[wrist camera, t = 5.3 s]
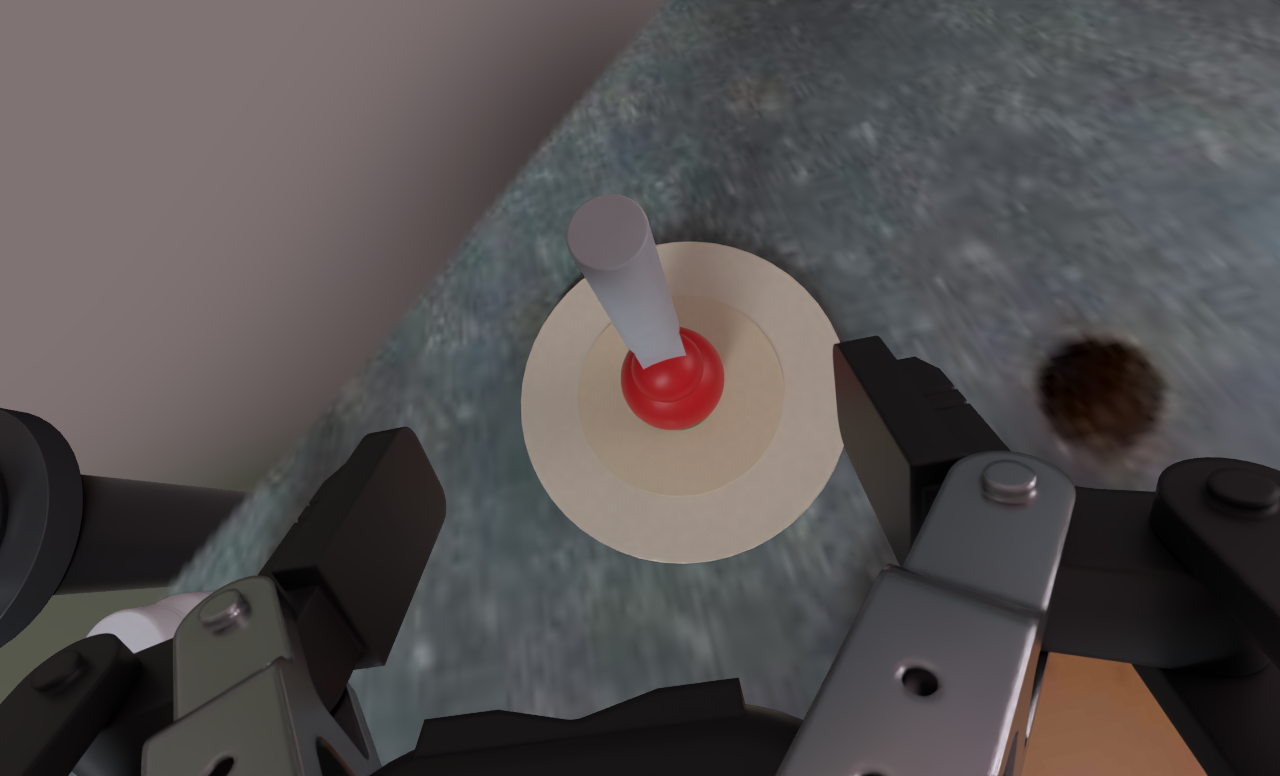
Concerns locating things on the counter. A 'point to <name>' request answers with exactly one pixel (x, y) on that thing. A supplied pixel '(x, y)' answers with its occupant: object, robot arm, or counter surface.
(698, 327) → the plate
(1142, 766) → the pie
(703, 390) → the forked strawberry
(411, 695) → the counter surface
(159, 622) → the pill bottle
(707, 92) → the counter surface
